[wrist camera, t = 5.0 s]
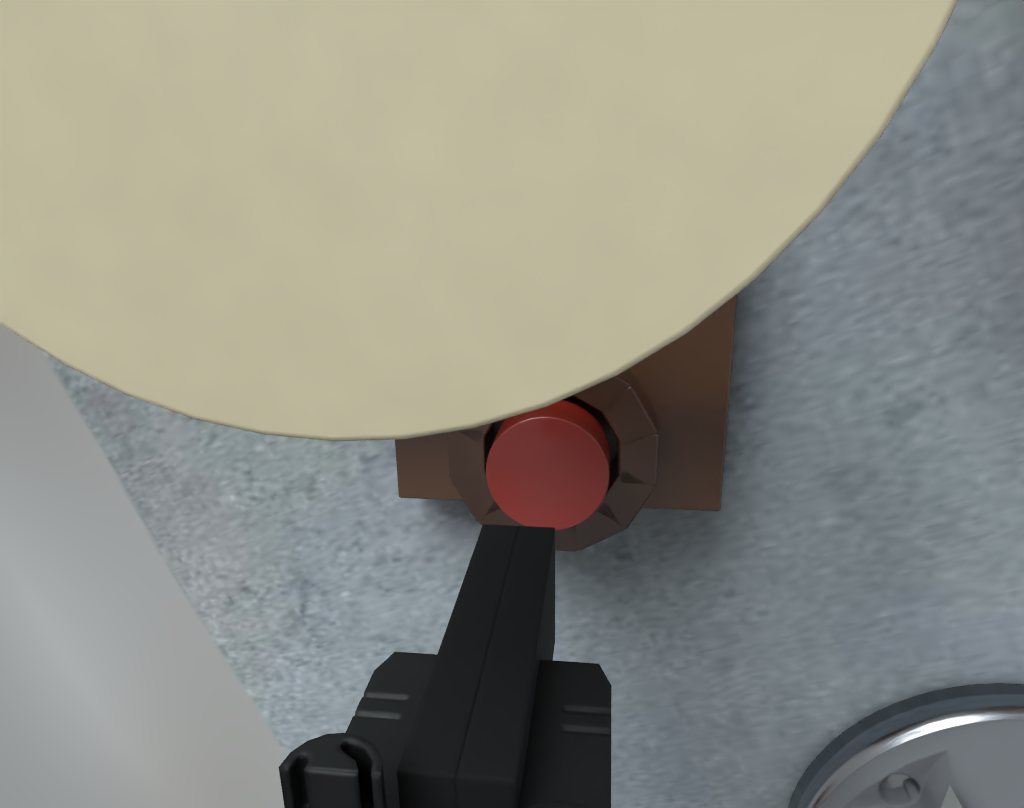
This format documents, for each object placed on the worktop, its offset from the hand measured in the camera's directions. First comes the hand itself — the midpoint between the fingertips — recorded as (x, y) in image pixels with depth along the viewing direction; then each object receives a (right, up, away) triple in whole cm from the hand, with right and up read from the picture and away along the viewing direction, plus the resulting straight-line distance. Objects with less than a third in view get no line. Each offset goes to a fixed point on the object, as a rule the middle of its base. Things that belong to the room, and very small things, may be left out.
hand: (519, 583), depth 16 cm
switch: (+1, +2, +8) cm, 8 cm away
